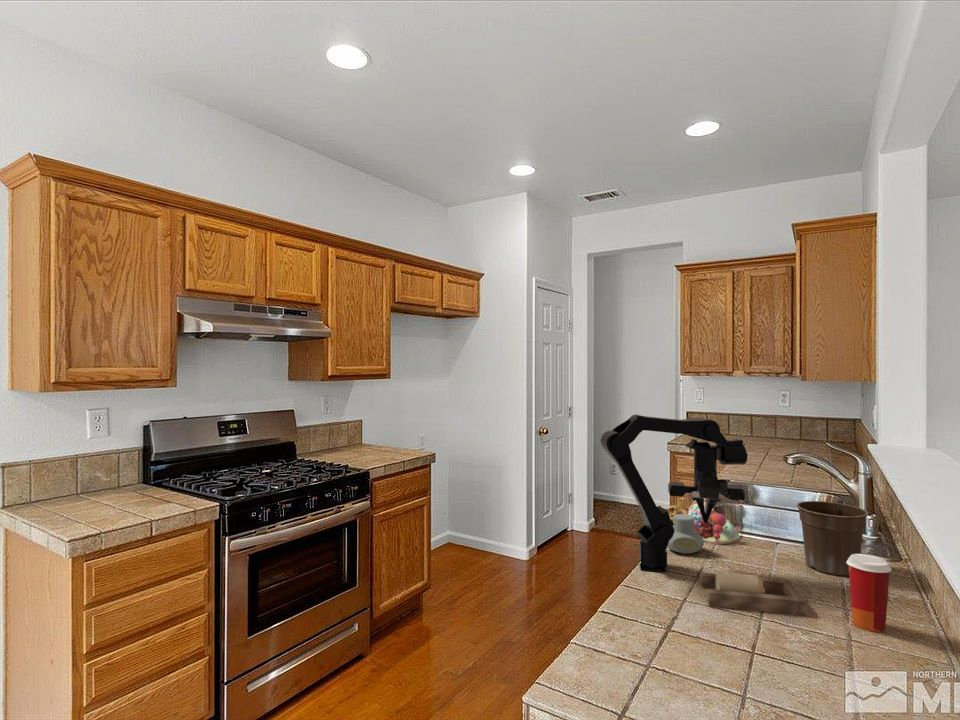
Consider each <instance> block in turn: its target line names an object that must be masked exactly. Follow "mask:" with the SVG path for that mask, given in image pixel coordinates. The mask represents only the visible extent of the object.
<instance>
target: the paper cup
mask: <svg viewBox="0 0 960 720" xmlns="http://www.w3.org/2000/svg"><path fill="white" fill-rule="evenodd" d="M846 563H847V564H848V565H849V575H848V576H849V589H850V590H849V591H850V593H849V594H850V605H851V607H850V609H851V617H852V619H851V620H852V624H853V625H854V626H855V627H857V628H859V629H862V630H864V631H868V632H872V633H873V632H874V633H883V632H885V630H886V623H887V610H888V601H889V585H890V583H889V582H890V572H892V568H891V566H890V564H889V562H887V560H885V559H884V558H882V557H880V556H876V555H872V554H865V553H861V554H852V555H850V558H848V560H847V562H846Z"/></svg>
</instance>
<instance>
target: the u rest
mask: <svg viewBox="0 0 960 720" xmlns="http://www.w3.org/2000/svg"><path fill="white" fill-rule="evenodd" d="M757 577H758V576H757ZM715 578H716V573H711V572H700V586H701V587H702V589H707V603H708V606H709V607H716V608H719V607H720V608H728V609H729V608H730V609H740V610H746V611H747V610H748V611H758V612H771V613H780V614H788V615H789V614H790V615H800V616H808V600H807V599H806V598H804V596H803V595H802V593H801V592H800V591H799V590H798V588H796V586H795V585H794V584H793V583H792V581H791V579H783V578H780V579H778V578H769V577H758V578H759V579H760V580H761V581H763V588H764V589H765V594H757V593H746V592H735V591H724V590H716V582H715Z"/></svg>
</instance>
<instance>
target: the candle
mask: <svg viewBox="0 0 960 720" xmlns="http://www.w3.org/2000/svg"><path fill="white" fill-rule="evenodd" d="M715 574H716V578H715V582H716V589H715V590H724V591H735V592H746V593H757V594H765V589H764V588H763V581H761V580H760V579H759V578H760V577H759V578H758V576H757V575H756V574H746V573H745V574H743V573H732V572H720V571H717V572H716V573H715Z"/></svg>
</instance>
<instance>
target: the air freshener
mask: <svg viewBox="0 0 960 720" xmlns="http://www.w3.org/2000/svg"><path fill="white" fill-rule="evenodd" d="M673 523H674V524H675V525H673V527H674V531H675V532H674V535H673V537H672V538H671V539H670V540H669V543H668V546H667V548H669V549H670V550H672V551H673V552H676V553H679V554H682V555H690V554H693V553H694V554H695V553H697V552H699V551H701V550H702V549H703V547H704V545H705V544H704V543H705V542H704V541H703V538H702V537H701V535H700V534H698V533H697V532H696V531H694V518H693V517H692V516H690V515H686V514H676V515H674V516H673Z"/></svg>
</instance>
